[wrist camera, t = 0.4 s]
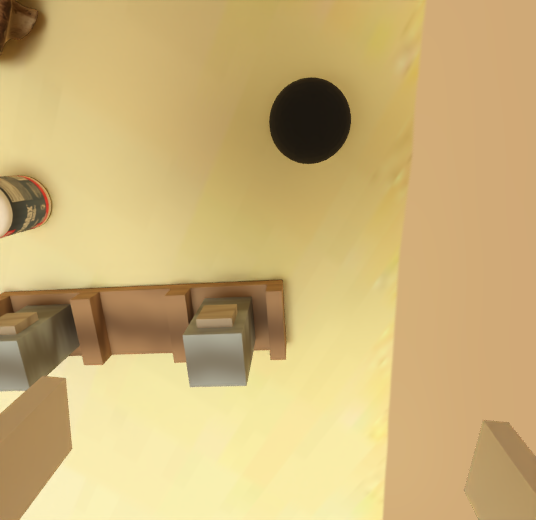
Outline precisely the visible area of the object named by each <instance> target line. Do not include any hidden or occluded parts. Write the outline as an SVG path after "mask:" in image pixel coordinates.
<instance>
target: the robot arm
mask: <svg viewBox="0 0 536 520" xmlns="http://www.w3.org/2000/svg"><path fill="white" fill-rule="evenodd" d="M71 449H72V442H71V431H70V420H69V409H68V398H67V387H66V378H59V377H49V376H42V377H41V378H40V379H38V380H37V381H36V382H35V383H34V384H33V385H32V386H31V387H30V388H28V389H27V390H26V391H25V392H24V393H23V394H22V395H21V396H20V397H18V398H17V399H16V400H15V401H14V402H13V403H12V404H11V405H10V406H8V407H7V408H6V409H5V410H4V411H3V412H2V413H1V414H0V520H20V518H21V517H22V516H23V514H24V513H25V512H26V510H27V509H28V507H29V506H30V505H31V503H32V502H33V501H34V499H35V498H36V497H37V495H38V494H39V493H40V491H41V490H42V489H43V487H44V486H45V485H46V483H47V482H48V481H49V479H50V478H51V476H52V475H53V474H54V472H55V471H56V470H57V468H58V467H59V466H60V464H61V463H62V462H63V460H64V459H65V458H66V456H67V455H68V454H69V452H70V451H71ZM464 492H465V494H466V496H467V498H468V500H469V502H470V504H471V506H472V508H473V510H474V512H475V514H476V516H477V518H478V520H536V456H535V455H534V454H533V452H532V451H531V450H530V449H529V447H527V445H526V444H525V442H524V441H523V440H522V439H521V437H520V436H519V435H518V434H517V432H516V431H515V430H514V429H513V428H512V426H511V425H510V423H508V422H499V421H488V420H483V422H482V426H481V430H480V433H479V437H478V441H477V444H476V448H475V452H474V455H473V459H472V463H471V467H470V470H469V474H468V477H467V481H466V485H465V489H464Z"/></svg>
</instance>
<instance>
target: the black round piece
mask: <svg viewBox="0 0 536 520" xmlns="http://www.w3.org/2000/svg"><path fill="white" fill-rule="evenodd" d="M269 124H270V132H271V136H272V139H273V141H274V143H275V145H276V146H277V148H278V149H279V150H280V152H281V153H283V154H284V155H285V156H286V157H288V158H289V159H291V160H293V161H295V162H298V163H303V164H313V163H318V162H321V161H324V160H327V159H328V158H330V157H331V156H333V155H334V154H335V153H336V152H337V151H338V150H339V149H340V148H341V147H342V145H343V144H344V142H345V140H346V139H347V136H348V134H349V130H350V124H351V114H350V108H349V105H348V102H347V100H346V98H345V96H344V95H343V93H342V92H341V91H340V90H339V89H338V88H337V87H336V86H335V85H333V84H332V83H330V82H328V81H326V80H323V79H319V78H304V79H300V80H297V81H295V82H292V83H291V84H290V85H288V86H287V87H285V88H284V89H283V90H282V91H281V92H280V94H279V95H278V96H277V98H276V99H275V101H274V103H273V106H272V109H271V112H270V121H269Z"/></svg>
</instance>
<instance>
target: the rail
mask: <svg viewBox="0 0 536 520" xmlns="http://www.w3.org/2000/svg"><path fill="white" fill-rule="evenodd" d="M253 350H270V358H271V360H286V330H285V314H284V298H283V281H282V280H268V281H246V282H223V283H201V284H178V285H156V286H133V287H111V288H88V289H66V290H43V291H21V292H4V293H2V294H0V391H26V390H27V389H28V388H30V387H31V386H32V385H33V384H34V383H35V382H36V381H37V380H38V379H40V378H41V377H42V376H47V375H48V374H49V373H50V372H51V371H52V370H53V369H55V368H56V367H57V366H58V365H59V364H60V363H61V362H62V361H63V360H64V359H66V358H67V357H68V356H81V355H82V357H83V362H84V365H103V364H104V363H105V362H106V361H107V359H108V358H109V357H110V356H111V355H114V354H148V353H173V357H174V363H179V362H186V363H187V370H188V377H189V384H190V387H211V386H247V381H248V376H249V370H250V365H251V360H252V355H253Z"/></svg>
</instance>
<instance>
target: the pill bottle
mask: <svg viewBox="0 0 536 520" xmlns="http://www.w3.org/2000/svg"><path fill="white" fill-rule="evenodd" d="M50 212H51V200H50V197H49V195H48V193H47V191H46V189H45V188H44V187H43V186H42V185H41V184H40V183H39V182H38V181H36V180H35V179H33V178H30V177H27V176H4V177H0V238H2V237H6V236H9V235H13V234H16V233H19V232H23V231H26V230H30V229H33V228H36V227H39V226H41V225H42V224H44V223H45V222H46V221H47V219H48V217H49V215H50Z"/></svg>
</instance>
